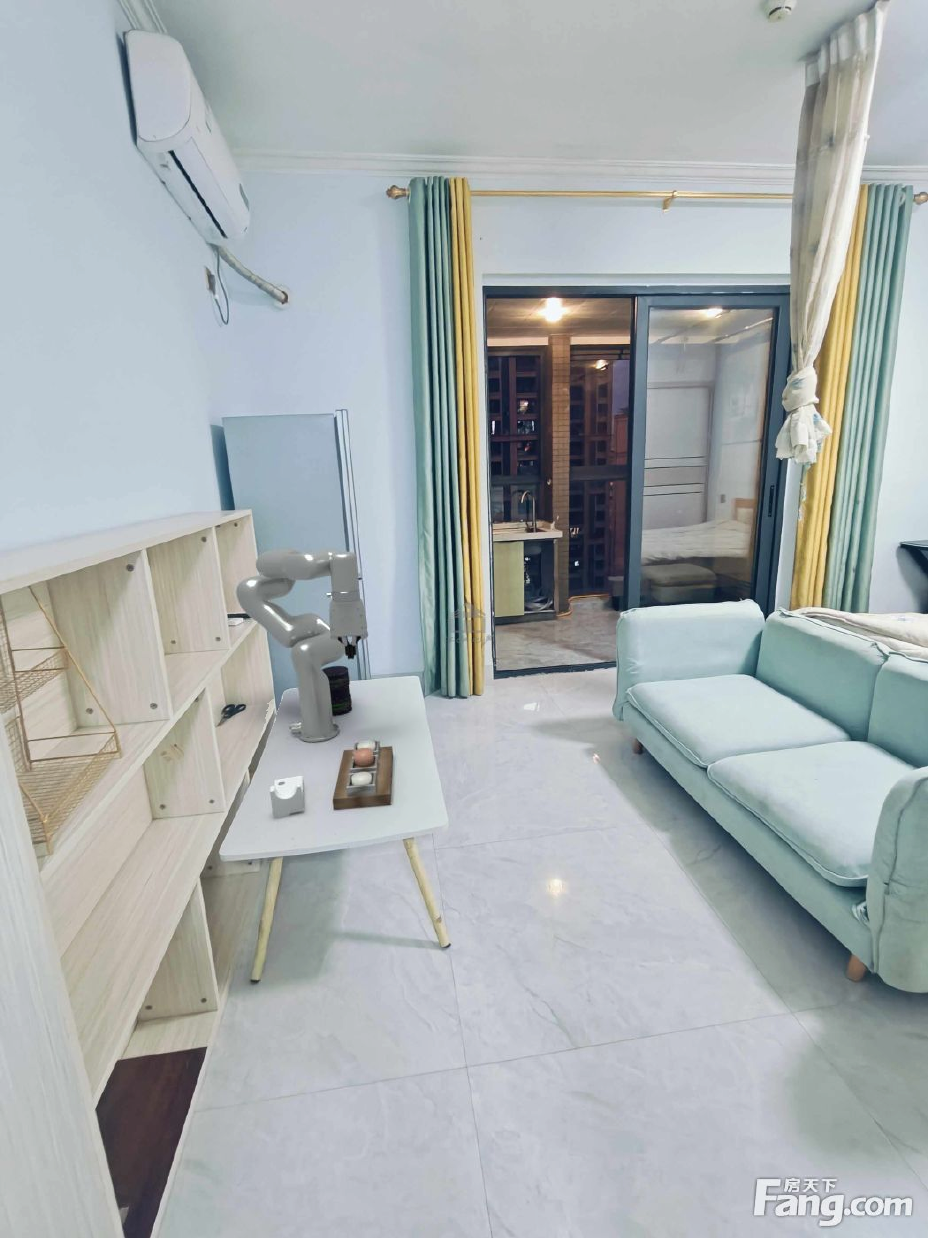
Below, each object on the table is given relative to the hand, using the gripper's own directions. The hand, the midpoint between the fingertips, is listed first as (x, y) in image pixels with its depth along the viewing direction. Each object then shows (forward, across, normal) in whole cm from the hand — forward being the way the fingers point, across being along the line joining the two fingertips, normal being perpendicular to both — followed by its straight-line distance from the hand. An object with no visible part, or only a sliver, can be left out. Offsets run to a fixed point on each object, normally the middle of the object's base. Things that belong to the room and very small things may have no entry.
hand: (351, 657), depth 167 cm
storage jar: (+30, -10, +30) cm, 43 cm away
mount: (+28, +4, -20) cm, 35 cm away
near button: (+25, +4, -29) cm, 38 cm away
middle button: (+23, +4, -20) cm, 31 cm away
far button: (+25, +4, -11) cm, 28 cm away
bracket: (+29, -15, -28) cm, 43 cm away
